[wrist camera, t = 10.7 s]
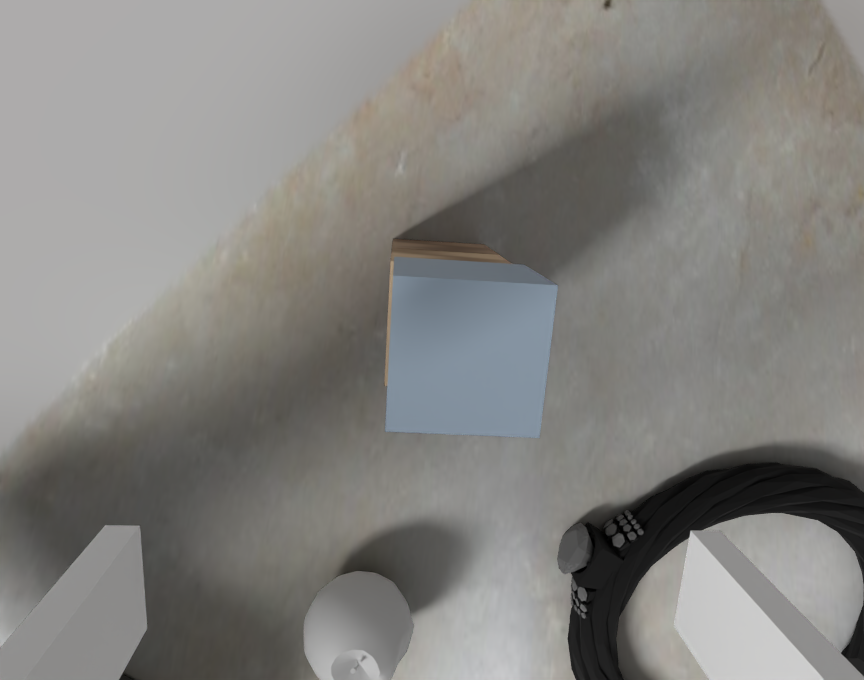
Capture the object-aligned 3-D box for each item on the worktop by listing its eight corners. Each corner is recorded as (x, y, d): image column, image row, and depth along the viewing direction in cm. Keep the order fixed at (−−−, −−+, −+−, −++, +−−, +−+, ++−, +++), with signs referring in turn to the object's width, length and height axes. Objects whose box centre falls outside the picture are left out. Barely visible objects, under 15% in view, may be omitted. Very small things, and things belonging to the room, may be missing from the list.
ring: (790, 827, 49) (480, 706, 44) (763, 782, 53) (473, 666, 48) (1011, 569, 44) (685, 397, 39) (963, 539, 47) (659, 378, 42)
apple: (291, 590, 45) (268, 674, 37) (368, 530, 44) (361, 605, 36) (357, 652, 46) (349, 745, 39) (433, 597, 45) (440, 681, 38)
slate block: (387, 381, 28) (384, 431, 22) (394, 256, 27) (393, 275, 21) (510, 387, 29) (539, 437, 23) (524, 264, 27) (558, 285, 21)
